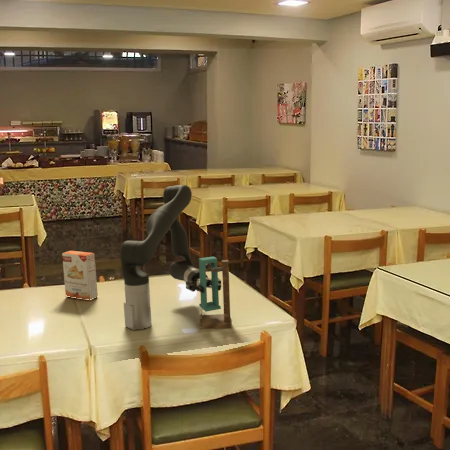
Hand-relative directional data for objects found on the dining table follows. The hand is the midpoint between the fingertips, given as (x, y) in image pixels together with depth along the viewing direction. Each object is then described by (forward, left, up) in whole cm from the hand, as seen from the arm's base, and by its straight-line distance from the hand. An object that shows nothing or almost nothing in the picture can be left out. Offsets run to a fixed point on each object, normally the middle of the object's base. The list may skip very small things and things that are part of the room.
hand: (211, 289), depth 227 cm
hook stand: (+1, 0, -14) cm, 14 cm away
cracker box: (-22, +68, -14) cm, 73 cm away
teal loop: (+1, +2, -8) cm, 8 cm away
